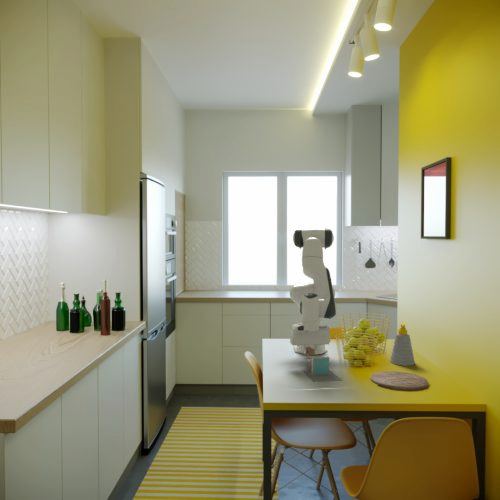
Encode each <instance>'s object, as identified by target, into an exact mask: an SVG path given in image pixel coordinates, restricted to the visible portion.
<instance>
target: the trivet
mask: <svg viewBox="0 0 500 500" xmlns="http://www.w3.org/2000/svg"><path fill="white" fill-rule="evenodd" d="M369 379H370V381H371V382H372V383H374V384H376V385H377V386H378V387H380V386H381V387H382V388H384V387H385V389H388V388H390V389H389V390H394V389H396V390H395V391H408V392H409V391H419V390H423V389H424V390H425V389H426V388H428V386H429V380H428V379H427V378H425V376H422V375H419V374H416V373H411V372H404V371H394V370H392V371H391V370H389V371H387V370H386V371H376V372H374V373H372V374H370V377H369Z"/></svg>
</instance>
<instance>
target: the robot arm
mask: <svg viewBox="0 0 500 500" xmlns="http://www.w3.org/2000/svg"><path fill="white" fill-rule="evenodd" d="M334 237H335V236H334V233H333V231H332V229H330V228H319V227H318V228H317V227H313V228H311V227H310V228H309V227H308V228H297V229H296V230H295V231H294V233H293V235H292V241H293V244H294V245H295V247H296V248H298V249H302V253H301V265H302V267H301V268H302V273H303V275H304V276H306V277H307V278H309V279H311V280H312V281H313V283H299V284H293V285H292V286H291V287H290V290H289V298H290V300H291V301H292V302H294V303H295V305H297V306H298V308H299V313H300V314H301V321H299V322H297V323H294V324H292V330H291V332H290V335H289V343H290V344H291V346H293V350H294V352H295V353H296V354H303V355H304V354H308V350H306V348H305V347H306V346H309V347H311V348H312V349H314V355H322V354H324V353H327V352H328V349H327V348H326V345H329V344H330V343H331V337H330V332H331V329H330V327H329V326H327V325H322V323H323V322H322V319H323V318H324V319H333V318H334V317H335V316H336V315H337V311H338V308H337V303H336V301H335V300H336V299H335V296H336V291H335V288H334V286H333V283H332V277H331V273H330V270H329V268H327V267H326V266H325V264H324V250H326V249H328V248H330V247H332V244H333V243H334ZM323 248H324V250H323Z"/></svg>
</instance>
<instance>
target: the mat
mask: <svg viewBox="0 0 500 500" xmlns="http://www.w3.org/2000/svg"><path fill="white" fill-rule="evenodd" d="M301 372H302V373H303V374H304V375H305V376H306V377H307V378H308V379H309V380H310V381H312V383H317V382H318V383H319V382H321V383H322V382H339V381H340V382H342V381H344V380H343V379H342V378H340V377H339V376H338V375H337V374H335V373H334V372H332V371H331V370H330V369H329V375H312V370H301Z"/></svg>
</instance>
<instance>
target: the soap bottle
mask: <svg viewBox="0 0 500 500" xmlns="http://www.w3.org/2000/svg"><path fill="white" fill-rule="evenodd" d="M397 330H398V332H397V333H396V334H395V337H394V342H393V346H392V352H391V355H390V358H389V361H390V364H392V365H395V366H396V365H397V366H401V365H402V366H403V367H411V366H414V365H415V364H416V361H415V357H414V351H413V347H412V341H411V335H410V334H408V329H407V328H406V323H400V328H399V329H397Z"/></svg>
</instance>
